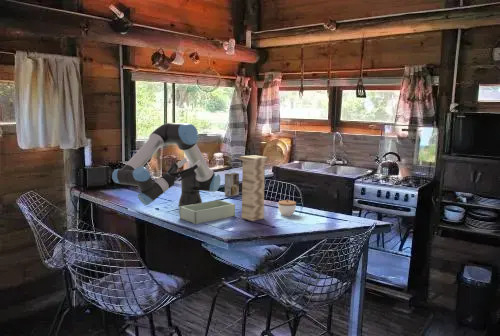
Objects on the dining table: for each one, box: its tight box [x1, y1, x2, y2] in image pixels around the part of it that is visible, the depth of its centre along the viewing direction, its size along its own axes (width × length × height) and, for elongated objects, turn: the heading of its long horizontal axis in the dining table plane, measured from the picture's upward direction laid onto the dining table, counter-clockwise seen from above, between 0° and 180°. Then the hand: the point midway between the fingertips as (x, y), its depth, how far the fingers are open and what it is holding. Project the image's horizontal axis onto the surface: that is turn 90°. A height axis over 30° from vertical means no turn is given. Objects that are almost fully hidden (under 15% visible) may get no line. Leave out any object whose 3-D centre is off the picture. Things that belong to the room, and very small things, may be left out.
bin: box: [179, 199, 236, 225], centre depth 240 cm, size 29×15×7 cm, turn 133°
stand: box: [238, 154, 270, 222], centre depth 238 cm, size 12×12×36 cm
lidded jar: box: [277, 199, 297, 217], centre depth 250 cm, size 11×11×9 cm
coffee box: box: [224, 172, 240, 197], centre depth 303 cm, size 9×6×16 cm
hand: (193, 160), depth 229 cm, fingers open, 13 cm apart
